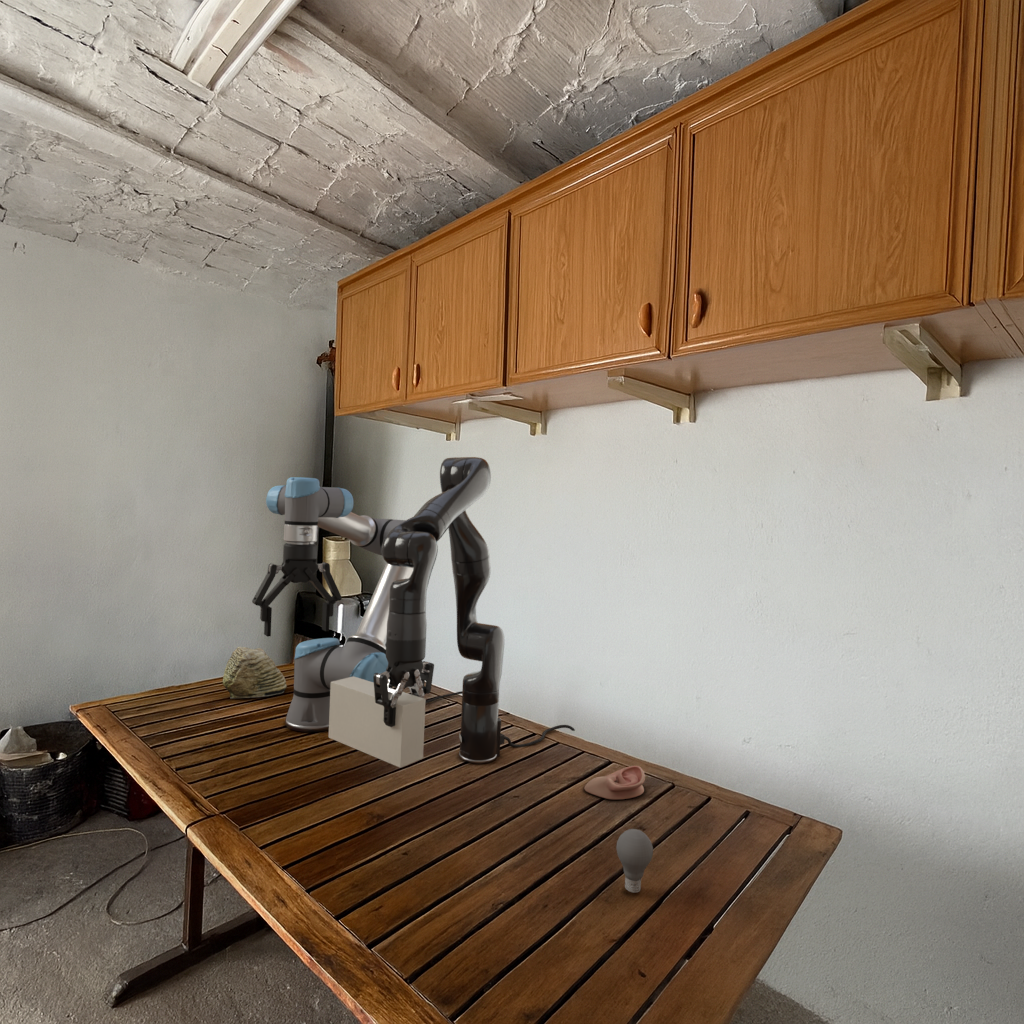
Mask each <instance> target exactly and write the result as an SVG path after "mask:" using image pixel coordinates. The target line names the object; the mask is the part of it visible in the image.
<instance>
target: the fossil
mask: <svg viewBox="0 0 1024 1024" xmlns="http://www.w3.org/2000/svg"><path fill="white" fill-rule="evenodd" d="M222 676H223V677H222V685H223V687H224V688H225V690H226V691H228V693H229V698H230V699H250V698H264V697H271V696H275V695H281V694H284V693H285V691H286V689H287V687H288V686H287V680H286V678H285V676H284V674H283V673H282V672H281V669H279V668H278V667H277V665H276V663H275V662H274V660H273V659H272V658H271V657H270V656H269V655H268V654H267V653H266V652H265V650H264V649H263V648H260V647H258V648H251V647H247V646H246V647H245V646H238V647H237V648H236V649H235V650H233V651H232V653H231V656H230V657H229V659H228V660H227V663H226V666H225V668H224V671H223V675H222Z"/></svg>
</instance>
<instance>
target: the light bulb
mask: <svg viewBox="0 0 1024 1024" xmlns="http://www.w3.org/2000/svg"><path fill="white" fill-rule="evenodd" d="M615 849H616V854H617V857H618V859H619V861H620V863H621V865H622V867H623V873H624V874H623V875H624V876H625V878H624V888H625V890H627V891H628V892H630V893H634V894H635V893H639V892H640V891H641V889H642V887H641V886H642V879H643V877H644V875H645V871H646V868H647V867H648V866H649V864H650V863H651V861H652V859H653V855H654V847H653V843H652V841H651V838H649V836H648V835H647V834H646V833H645V832H643V831H642V830H641V829H636V828H629V829H627V830H625V831H623V832H622V833H621V834H620V835H619V837H618V839H617V841H616V847H615Z"/></svg>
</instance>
